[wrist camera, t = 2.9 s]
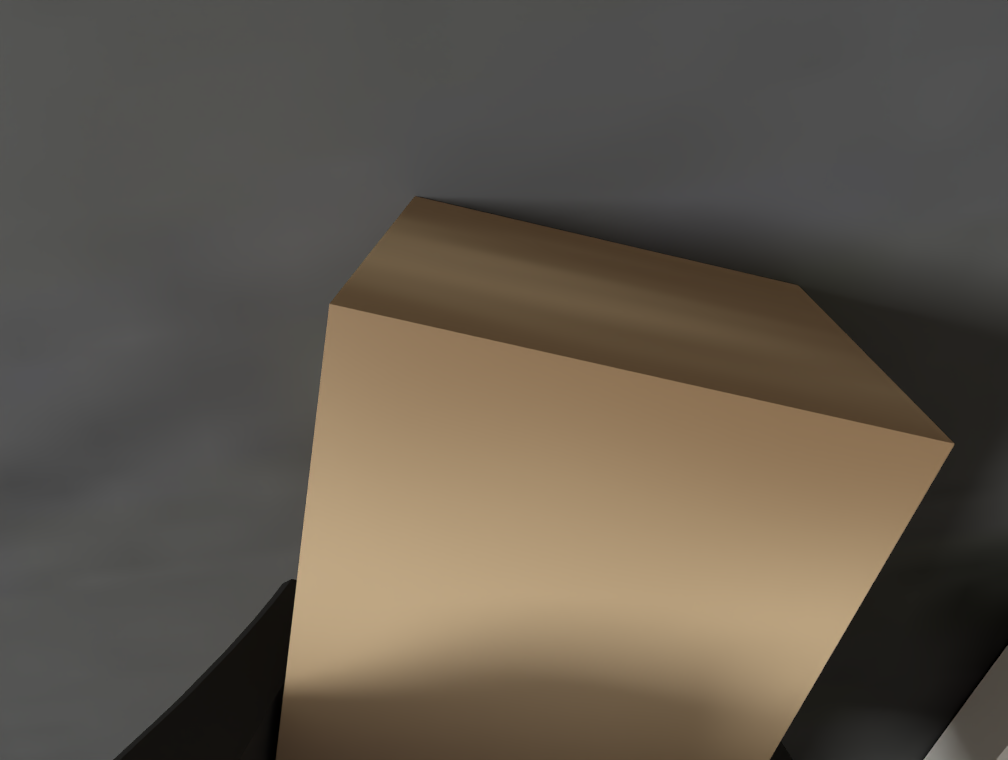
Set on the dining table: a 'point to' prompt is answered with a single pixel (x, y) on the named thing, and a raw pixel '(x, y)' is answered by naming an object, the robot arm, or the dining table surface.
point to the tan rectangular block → (582, 502)
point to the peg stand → (979, 721)
